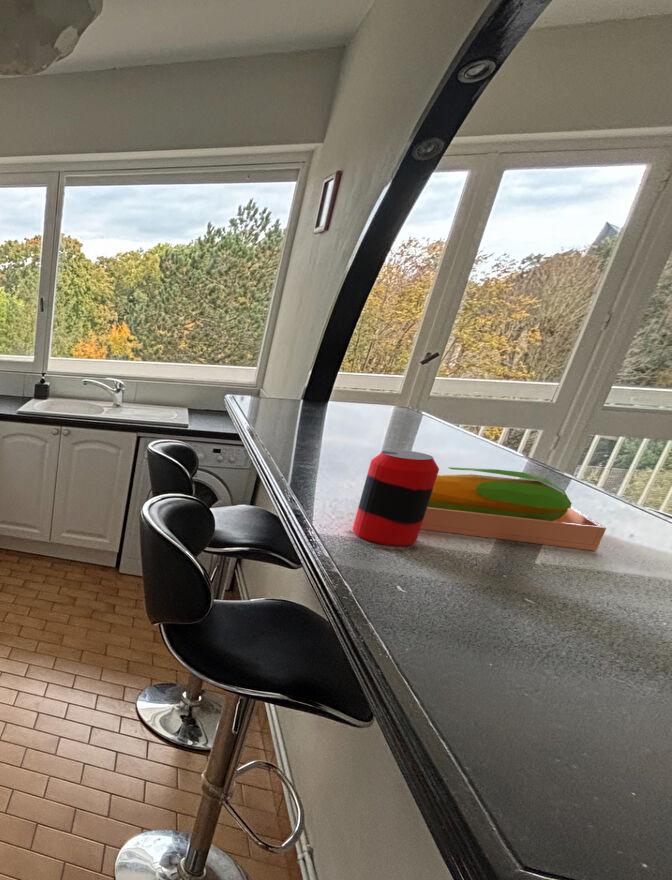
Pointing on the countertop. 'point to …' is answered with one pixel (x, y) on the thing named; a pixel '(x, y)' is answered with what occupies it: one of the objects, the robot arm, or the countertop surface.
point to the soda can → (395, 497)
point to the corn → (499, 495)
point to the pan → (519, 527)
